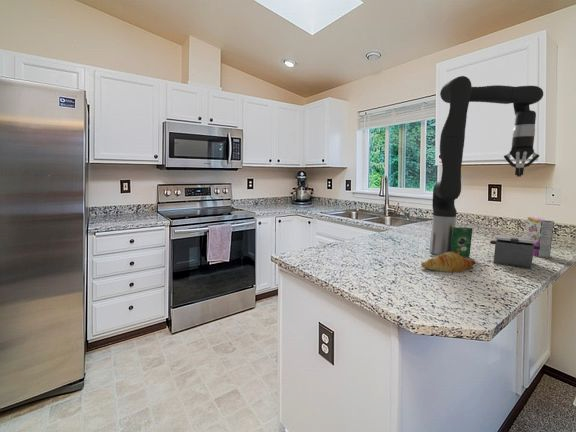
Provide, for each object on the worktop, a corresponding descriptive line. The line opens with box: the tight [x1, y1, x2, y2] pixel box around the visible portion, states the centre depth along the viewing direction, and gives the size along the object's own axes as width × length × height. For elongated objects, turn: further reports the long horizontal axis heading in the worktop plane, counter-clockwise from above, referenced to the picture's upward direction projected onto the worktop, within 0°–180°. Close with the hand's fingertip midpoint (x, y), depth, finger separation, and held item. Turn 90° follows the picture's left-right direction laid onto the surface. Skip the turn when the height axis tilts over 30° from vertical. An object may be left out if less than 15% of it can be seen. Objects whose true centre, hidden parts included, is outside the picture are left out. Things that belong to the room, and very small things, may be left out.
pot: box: [489, 239, 540, 270], centre depth 122 cm, size 16×12×9 cm
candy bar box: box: [525, 216, 555, 258], centre depth 136 cm, size 11×5×16 cm, turn 168°
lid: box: [494, 234, 535, 244], centre depth 119 cm, size 12×18×1 cm
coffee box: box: [451, 226, 474, 258], centre depth 130 cm, size 8×3×13 cm, turn 103°
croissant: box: [420, 252, 476, 273], centre depth 113 cm, size 21×10×8 cm
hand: (518, 176), depth 133 cm, fingers closed
